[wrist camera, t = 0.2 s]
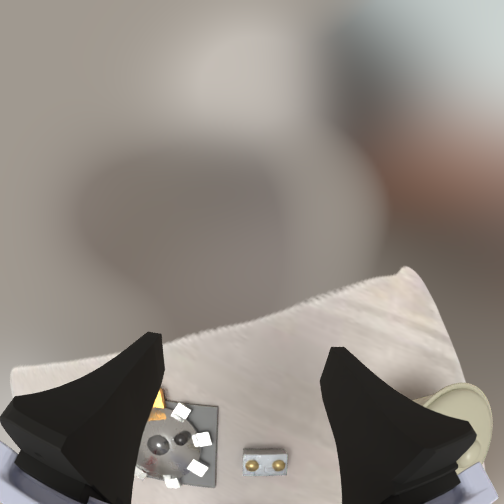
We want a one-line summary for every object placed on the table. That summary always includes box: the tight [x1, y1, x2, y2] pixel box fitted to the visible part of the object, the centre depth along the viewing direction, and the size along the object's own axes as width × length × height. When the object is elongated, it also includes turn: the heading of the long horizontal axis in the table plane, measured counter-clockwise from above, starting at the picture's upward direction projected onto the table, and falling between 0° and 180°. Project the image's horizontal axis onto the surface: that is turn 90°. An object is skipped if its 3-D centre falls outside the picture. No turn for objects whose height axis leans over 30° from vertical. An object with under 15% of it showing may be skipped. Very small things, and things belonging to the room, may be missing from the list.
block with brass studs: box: [243, 449, 288, 476], centre depth 29 cm, size 4×6×4 cm, turn 88°
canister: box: [412, 383, 493, 475], centre depth 23 cm, size 18×18×21 cm
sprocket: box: [134, 388, 213, 488], centre depth 29 cm, size 16×15×6 cm
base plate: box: [147, 401, 218, 488], centre depth 31 cm, size 14×17×1 cm
